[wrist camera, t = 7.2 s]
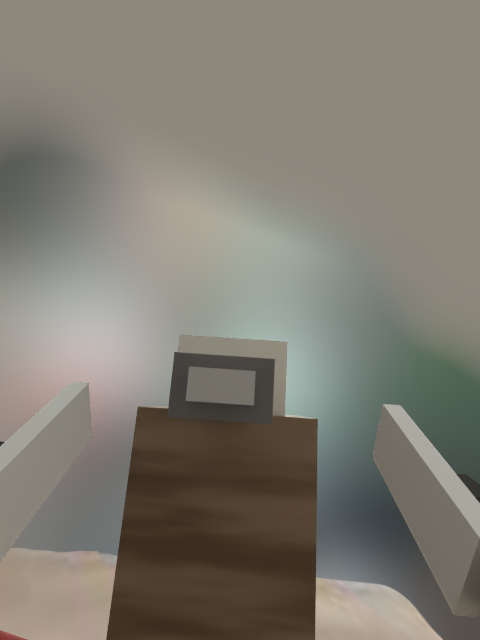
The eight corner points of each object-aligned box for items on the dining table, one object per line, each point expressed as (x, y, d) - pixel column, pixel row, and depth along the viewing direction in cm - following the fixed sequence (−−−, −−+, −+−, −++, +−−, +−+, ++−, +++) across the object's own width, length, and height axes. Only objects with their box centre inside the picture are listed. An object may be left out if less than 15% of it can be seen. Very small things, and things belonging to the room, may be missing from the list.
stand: (311, 971, 19) (317, 419, 27) (64, 952, 19) (137, 406, 27) (285, 781, 29) (295, 415, 36) (121, 769, 29) (164, 406, 36)
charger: (347, 431, 12) (346, 269, 13) (88, 413, 12) (115, 254, 13) (272, 413, 36) (275, 356, 37) (187, 407, 36) (192, 351, 37)
